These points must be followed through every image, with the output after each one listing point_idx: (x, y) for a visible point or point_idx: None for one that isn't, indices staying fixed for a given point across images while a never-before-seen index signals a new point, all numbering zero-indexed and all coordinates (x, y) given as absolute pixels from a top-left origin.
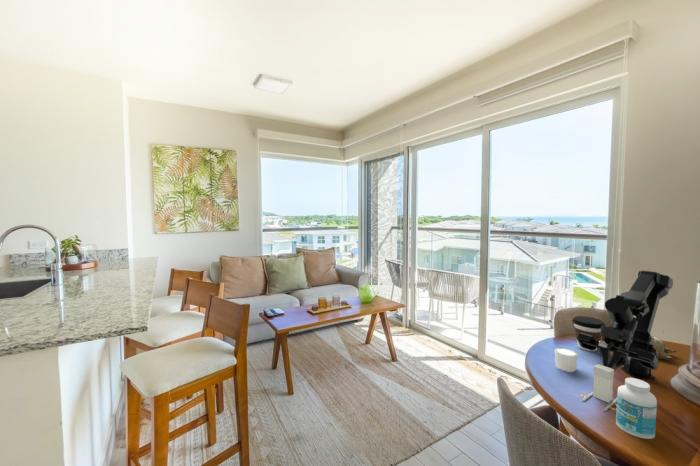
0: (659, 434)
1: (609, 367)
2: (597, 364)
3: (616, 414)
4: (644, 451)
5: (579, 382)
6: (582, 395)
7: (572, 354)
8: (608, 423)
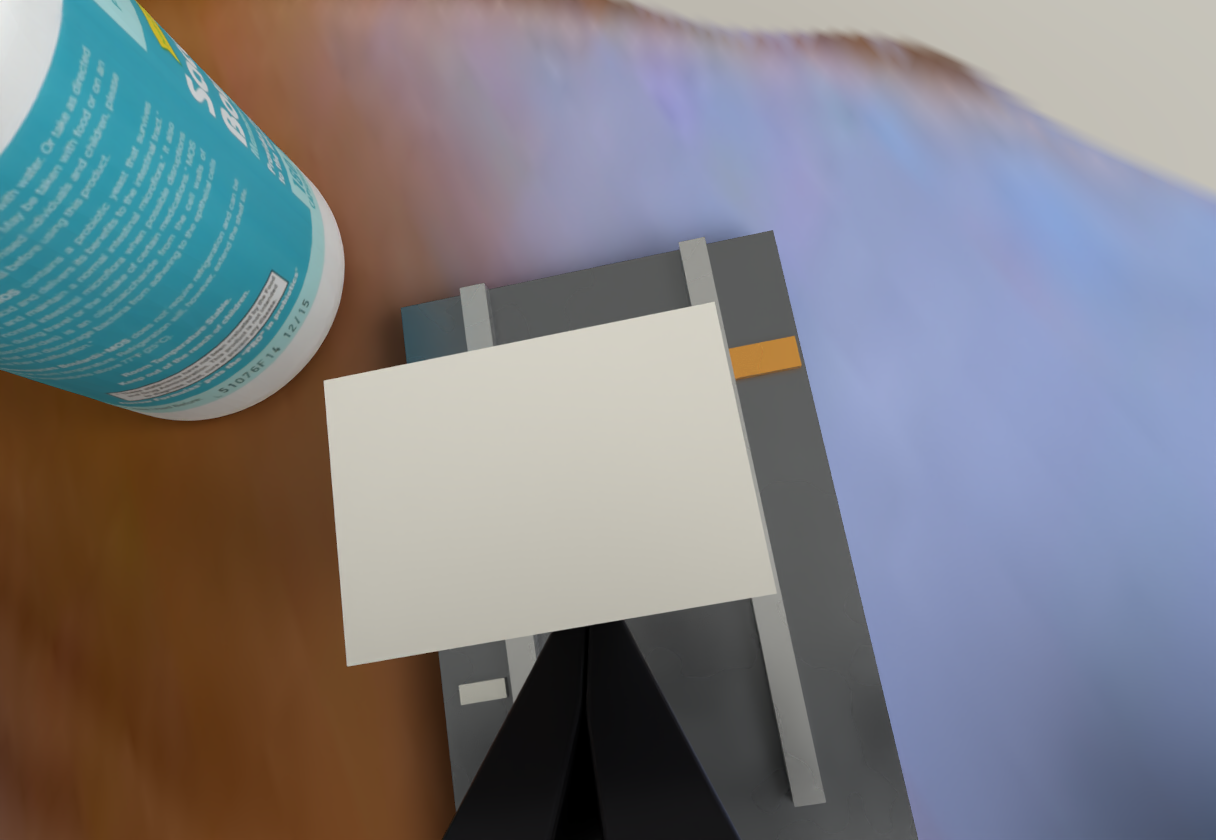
0: (98, 474)
1: (518, 749)
2: (744, 527)
3: (264, 135)
4: None
5: (1097, 784)
6: (772, 354)
7: None
8: (395, 200)
